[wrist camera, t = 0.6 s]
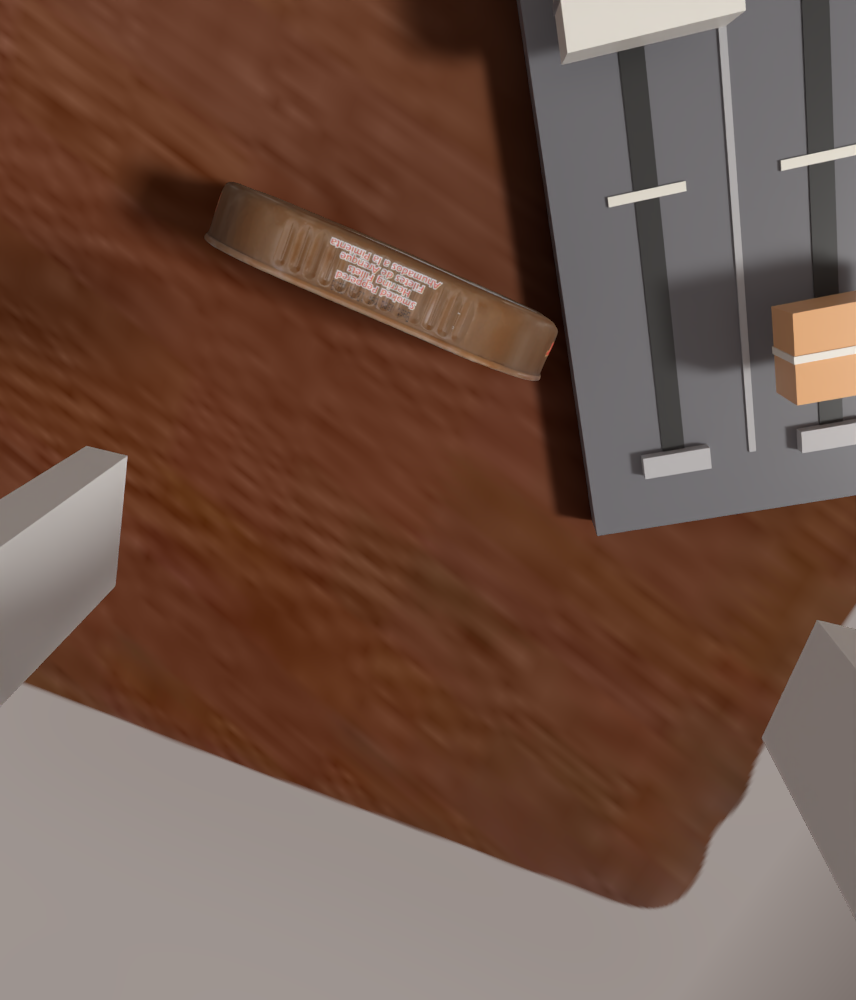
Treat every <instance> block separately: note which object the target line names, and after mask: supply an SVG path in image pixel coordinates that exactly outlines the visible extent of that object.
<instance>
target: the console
mask: <svg viewBox="0 0 856 1000" xmlns="http://www.w3.org/2000/svg"><path fill="white" fill-rule="evenodd" d="M745 4H746V11H744V12H743V13H742V14H741V15H739V16H738V17H737V18H735V19H734V20H733V21H732V22H730V23H729V24H728V25H726V26H724V27H719V28H715V29H711V30H707V31H703V32H698V33H694V34H690V35H686V36H682V37H677V38H673V39H669V40H665V41H661V42H656V43H652V44H648V45H644V46H639V47H635V48H631V49H627V50H623V51H618V52H614V53H610V54H606V55H602V56H597V57H593V58H589V59H585V60H581V61H576V62H572V63H568V64H564V65H561V58H560V50H559V43H558V35H557V27H556V20H555V16H553V9H552V7H553V0H517V7H518V14H519V21H520V28H521V34H522V41H523V48H524V55H525V62H526V69H527V76H528V83H529V90H530V96H531V103H532V110H533V117H534V124H535V131H536V138H537V145H538V151H539V158H540V165H541V172H542V179H543V186H544V193H545V200H546V207H547V213H548V220H549V227H550V234H551V241H552V248H553V255H554V262H555V268H556V275H557V282H558V289H559V296H560V303H561V310H562V317H563V324H564V330H565V337H566V344H567V351H568V358H569V365H570V372H571V379H572V386H573V392H574V399H575V406H576V413H577V420H578V427H579V434H580V441H581V447H582V454H583V461H584V468H585V475H586V482H587V489H588V496H589V503H590V509H591V516H592V522H593V525H594V528H595V531H596V534H597V536H600V535H606V534H612V533H619V532H625V531H631V530H638V529H644V528H650V527H657V526H663V525H669V524H676V523H682V522H688V521H695V520H701V519H707V518H714V517H720V516H726V515H733V514H739V513H745V512H752V511H758V510H764V509H771V508H777V507H783V506H790V505H796V504H802V503H809V502H815V501H821V500H828V499H834V498H840V497H847V496H853V495H856V396H850V397H844V398H838V399H833V400H827V401H821V402H815V403H810V404H804V405H798V406H797V405H796V404H794V403H792V402H791V401H789V400H788V399H786V398H784V397H783V396H781V395H780V394H778V393H776V378H775V361H774V354H772V347H773V346H774V344H773V327H772V311H771V306H777V305H782V304H787V303H792V302H798V301H803V300H808V299H813V298H818V297H824V296H829V295H834V294H839V293H845V292H850V291H855V290H856V0H745Z"/></svg>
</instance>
